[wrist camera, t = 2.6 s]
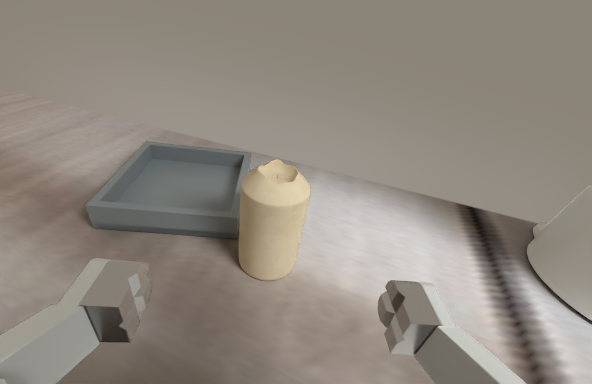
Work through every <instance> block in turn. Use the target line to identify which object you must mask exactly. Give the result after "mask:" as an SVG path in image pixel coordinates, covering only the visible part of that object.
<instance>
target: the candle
mask: <svg viewBox="0 0 592 384" xmlns="http://www.w3.org/2000/svg"><path fill="white" fill-rule="evenodd" d="M310 192H311V188H310V185H309V183H308V181H307V180H306V179H305V178H304V177H303V176H302V174H301V173H300V172H299V171H298V170H297V168H296V167H295V166H293V165H286V164H284V163H283V162H282V161H280V160H277V159H275V160H272V161H271V162H269V163H268V164H265V165H260V166H259V167H257V168H255V169H253V170H251V171H250V172H249V173H247V174H246V175H245V176H244V177H243V179H242V181H241V198H240V226H239V262H240V265H241V267H242V269H243V270H244V271H245V272H246V273H247V274H248V275H249V276H251V277H253V278H255V279H258V280H263V281H274V280H278V279H281V278H283V277H285V276H287V275H288V274H289V273H290V272H291V271H292V269H293V267H294V265H295V263H296V259H297V254H298V250H299V245H300V240H301V235H302V231H303V226H304V221H305V216H306V212H307V207H308V202H309V197H310Z"/></svg>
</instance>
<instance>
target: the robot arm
mask: <svg viewBox="0 0 592 384" xmlns="http://www.w3.org/2000/svg"><path fill="white" fill-rule="evenodd" d="M533 234H534V239H533V240H532V241H531V242H530V243H529V245H528V247H527V256H528V259H529V261H530V263H531V265H532V267H533V268H534V270H535V271H536V273H537V274H538V275H539V276H540V278H541V279H542V280H543V281H544V282H545V283H546V284H547V285H548V286H549V287H550V288H551V289H552V290H553V291H554V292H555V293H556V294H557V295H558V296H559V297H560V298H562V299H563V300H564V301H565V302H566V303H568V304H569V305H570V306H571V307H573V308H574V309H575V310H577V311H578V312H579V313H581V314H582V315H584V316H585V317H587V318H588V319H590V320H591V321H592V185H591V186H589V187H587V188H586V189H585V190H584V191H583V192H582V193H580V194H579V195H578V196H577V197H576V198H575V199H574V200H573V201H572V202H570V203H569V204H568V205H567V206H566V207H565V208H564V209H563V210H562V211H561V212H560V213H559V214H558V215H557V216H556V217H554V218H553V219H552V220H551V221H550V222H549V223H541V222H540V223H538V224H537V225H536V226H535V227H534V228H533ZM148 271H149V267H148V263H145V262H135V261H125V260H115V259H103V258H94V259H92V260H91V261H89V262H88V264H87V265H86V266H85V268H84V269H83V270H82V272H81V273H80V274H79V276H78V277H77V278H76V280H75V281H74V282H73V284H72V285H71V286H70V288H69V289H68V290H67V292H66V293H65V294H64V296H63V297H62V298H61V300H60V301H59V302H58V304H57V305H49V306H48V307H46V308H44V309H43V310H41V311H40V312H38V313H36V314H35V315H33V316H31V317H30V318H28V319H26V320H25V321H23V322H21V323H20V324H18V325H16V326H15V327H13V328H11V329H10V330H8V331H6V332H5V333H3V334H1V335H0V384H56V383H57V382H58V381H59V380H61V379H62V378H63V377H64V376H65V375H66V374H67V373H68V372H69V371H71V370H72V369H73V368H74V367H75V366H76V365H77V364H78V363H79V362H81V361H82V360H83V359H84V358H85V357H86V356H87V355H88V354H89V353H90V352H92V351H93V350H94V349H95V348H96V347H97V346H98V345H99V344H100V342H126V343H130V342H131V340H132V338H133V336H134V333H135V331H136V329H137V327H138V325H139V322H140V320H139V316H138V314H139V313H140V312H142V311H143V310H144V309H145V308H146V307H147V304H148V302H149V300H150V296H151V292H152V281H151V278H149V277H148V276H147V273H148ZM385 287H386V290H387V291H386V292H385V293H383V294H381V296H380V298H379V300H378V314H379V318H380V321H381V322H382V323H383V324H384V326H385V327H386V331H385V333H384V334H385V338H386V341H387V344H388V347H389V351H390V353H391V354H405V355H415V356H414V357H415V359H416V360H417V361H418V362H419V364H420V365H421V366H422V367H423V369H424V370H425V371H426V372H427V374H428V375H429V376H430V377H431V379H432V380H433V381H434V382H435V384H526V383H525V382H524V381H523V380H522V379H520V378H519V377H518V376H517V375H516V374H515V373H513V372H512V371H511V370H510V369H509V368H508V367H507V366H505V365H504V364H503V363H502V362H501V361H500V360H498V359H497V358H496V357H495V356H494V355H493V354H491V353H490V352H489V351H488V350H487V349H486V348H485V347H483V346H482V345H481V344H480V343H479V342H478V341H476V340H475V339H474V338H473V337H472V336H471V335H469V334H468V333H467V332H466V331H465V330H464V329H463V328H461V327H457V326H456V324H455V322H454V320H453V319H452V317H451V315H450V313H449V311H448V309H447V307H446V306H445V304H444V302H443V300H442V298H441V296H440V294H439V293H438V291H437V289H436V287H435V286H434V285H433V284H432V283H421V282H411V281H395V280H391V281H389V282H388V283H387V285H386V286H385Z"/></svg>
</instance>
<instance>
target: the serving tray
mask: <svg viewBox="0 0 592 384" xmlns="http://www.w3.org/2000/svg"><path fill="white" fill-rule="evenodd" d="M250 163H251V153H248V152H238V151H229V150H220V149H211V148H202V147H193V146H183V145H174V144H165V143H156V142H147V141H146V142H145V143H144V144H143V145H142V146H141V147H140V148H139V149H138V150H137V151H136V152H135V153H134V155H133V156H132V157H131V158H130V159H129V160H128V161H127V162H126V163H125V164H124V165H123V166H122V167H121V168H120V169H119V170H118V171H117V172H116V173H115V175H114V176H113V177H112V178H111V179H110V180H109V181H108V182H107V183H106V184H105V185H104V186H103V187H102V188H101V189H100V190H99V191H98V192H97V194H96V195H95V196H94V197H93V198H92V199H91V200H90V201H89V202H88V203H87V204H86V205H85V206H86V209H87V212H88V215H89V217H90V220H91V223H92V226H93V228H95V229H109V230H122V231H136V232H149V233H162V234H176V235H189V236H203V237H216V238H229V239H237V236H238V231H239V226H240V198H241V181H242V179H243V177H244V176H245V175H246V174H247V173H249V172H250Z"/></svg>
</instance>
